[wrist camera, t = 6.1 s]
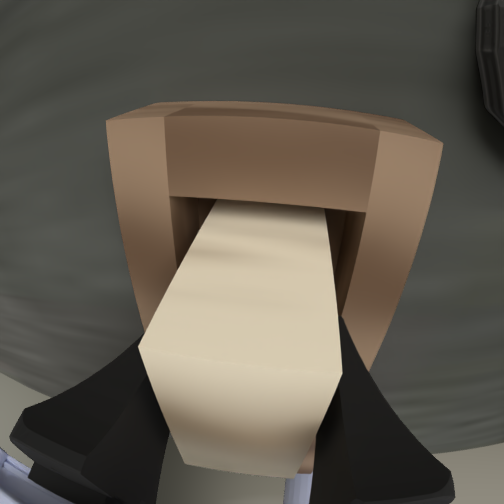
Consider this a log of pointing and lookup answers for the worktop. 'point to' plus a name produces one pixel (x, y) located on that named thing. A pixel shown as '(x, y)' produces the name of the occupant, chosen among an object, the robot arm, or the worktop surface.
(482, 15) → the dark grey angled stand
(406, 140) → the wooden compartment tray
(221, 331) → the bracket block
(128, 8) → the worktop surface
